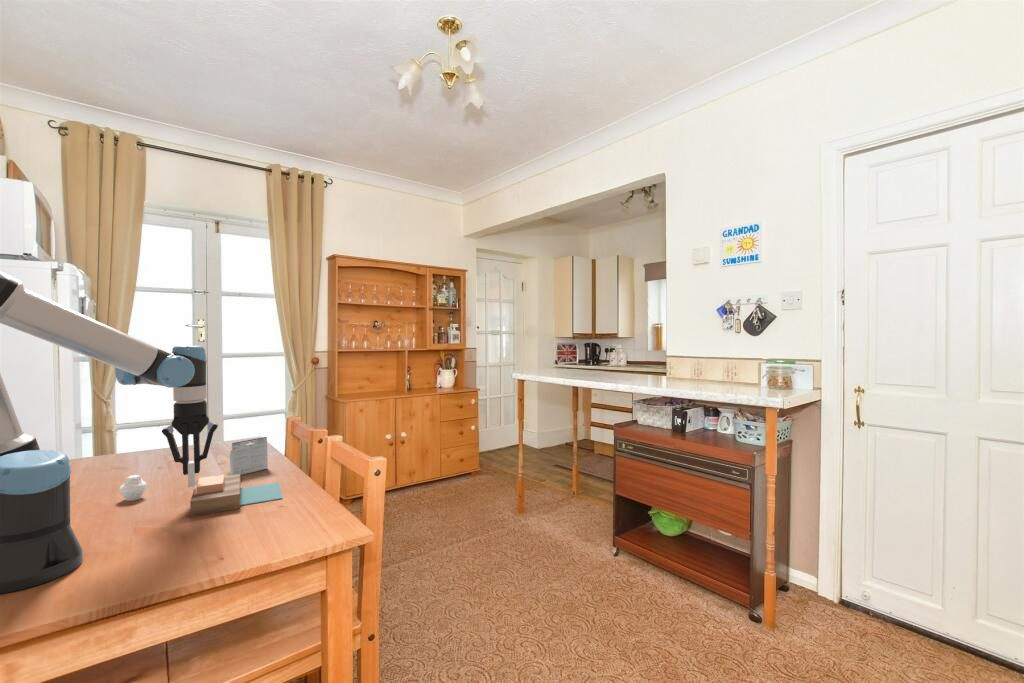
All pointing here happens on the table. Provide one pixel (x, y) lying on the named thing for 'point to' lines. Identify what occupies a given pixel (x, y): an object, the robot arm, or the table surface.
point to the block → (210, 484)
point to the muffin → (133, 488)
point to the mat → (260, 493)
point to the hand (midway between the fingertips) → (191, 485)
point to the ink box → (248, 456)
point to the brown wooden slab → (217, 498)
